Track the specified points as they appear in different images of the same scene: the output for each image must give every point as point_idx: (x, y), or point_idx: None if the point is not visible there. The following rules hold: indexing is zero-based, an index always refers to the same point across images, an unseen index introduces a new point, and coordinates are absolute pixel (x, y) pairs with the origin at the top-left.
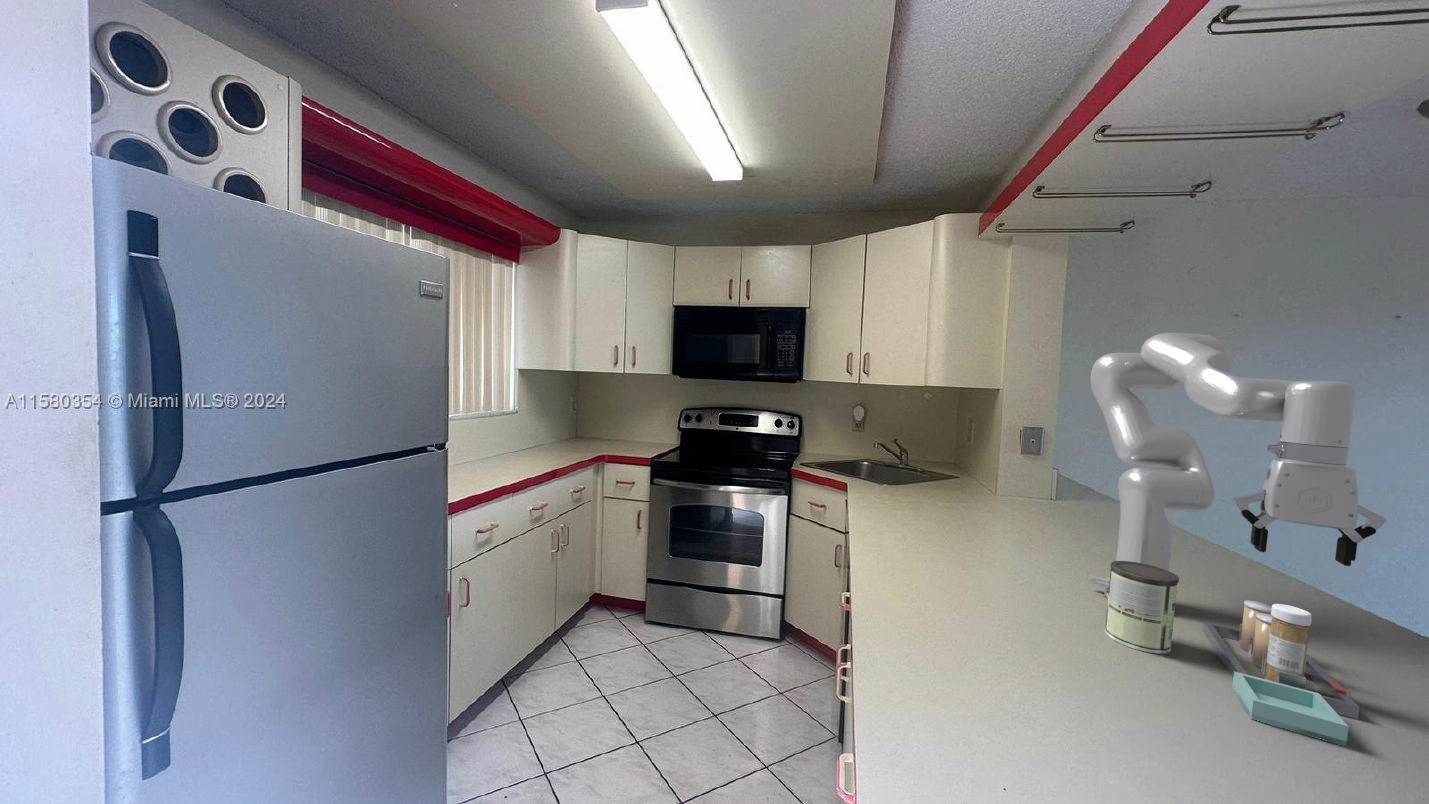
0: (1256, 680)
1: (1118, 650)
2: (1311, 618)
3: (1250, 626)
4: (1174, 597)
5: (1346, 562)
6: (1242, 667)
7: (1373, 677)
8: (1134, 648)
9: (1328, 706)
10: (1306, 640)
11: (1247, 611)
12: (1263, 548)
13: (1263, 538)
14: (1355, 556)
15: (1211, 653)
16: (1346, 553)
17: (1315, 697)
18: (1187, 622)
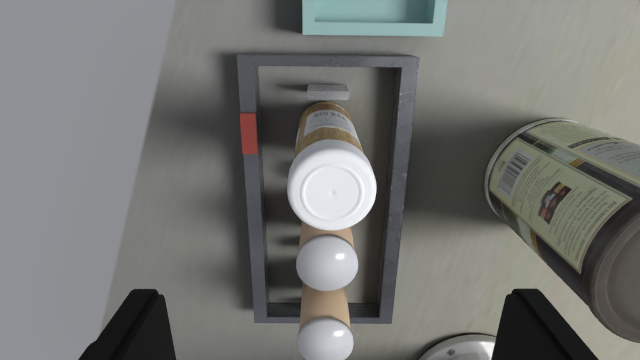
0: (407, 23)
1: (608, 86)
2: (291, 170)
3: (340, 293)
4: (577, 203)
5: (145, 297)
6: (398, 112)
7: (164, 280)
8: (568, 119)
9: None
10: (301, 142)
11: (348, 320)
12: (536, 299)
13: (587, 356)
14: (81, 356)
15: (408, 205)
16: (121, 348)
17: (314, 8)
18: (402, 335)
